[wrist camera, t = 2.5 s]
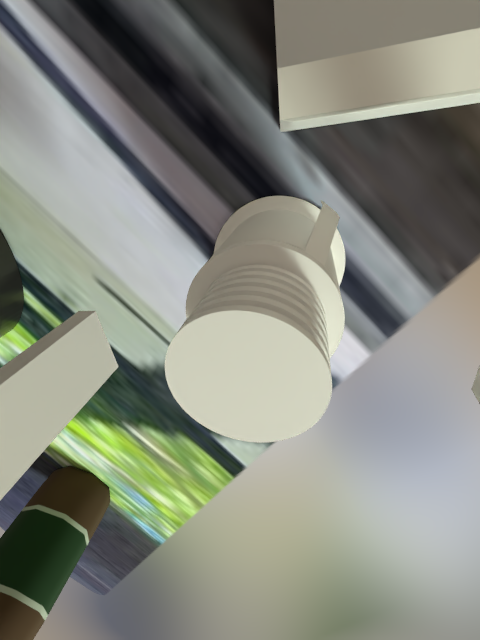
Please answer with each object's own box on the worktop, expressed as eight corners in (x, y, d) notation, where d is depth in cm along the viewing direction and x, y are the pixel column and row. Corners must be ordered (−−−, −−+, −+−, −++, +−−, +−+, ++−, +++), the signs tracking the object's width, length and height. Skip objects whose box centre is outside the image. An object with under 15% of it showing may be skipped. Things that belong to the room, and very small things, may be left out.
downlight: (282, 343, 19) (260, 499, 11) (189, 278, 18) (86, 394, 10) (381, 244, 15) (471, 371, 7) (271, 153, 14) (214, 169, 6)
